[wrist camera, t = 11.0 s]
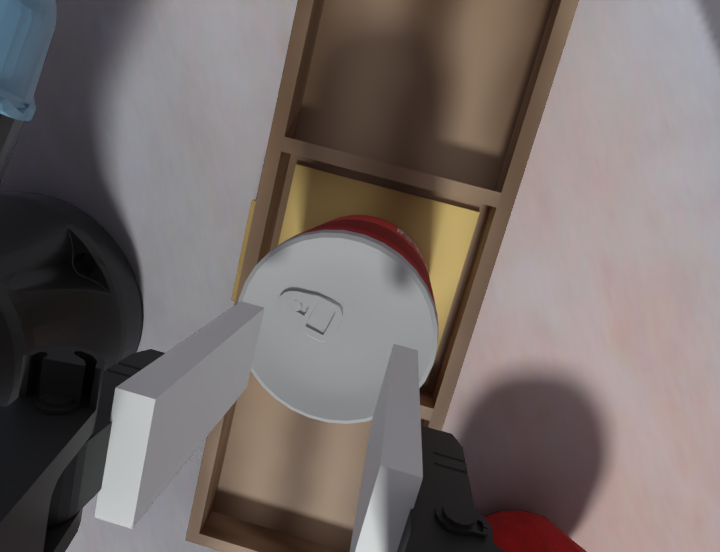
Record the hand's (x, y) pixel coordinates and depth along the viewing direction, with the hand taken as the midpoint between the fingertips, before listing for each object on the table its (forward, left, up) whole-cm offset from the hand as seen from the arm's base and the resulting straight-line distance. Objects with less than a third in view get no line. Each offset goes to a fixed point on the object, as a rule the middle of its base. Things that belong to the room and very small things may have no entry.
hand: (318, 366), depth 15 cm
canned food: (0, 0, -15) cm, 15 cm away
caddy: (0, 0, -16) cm, 16 cm away
